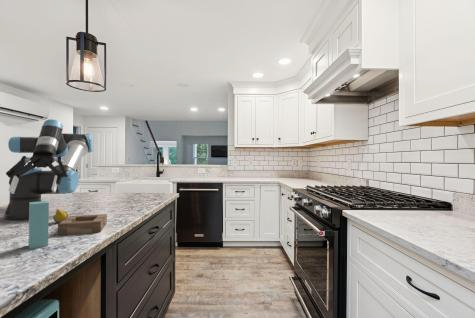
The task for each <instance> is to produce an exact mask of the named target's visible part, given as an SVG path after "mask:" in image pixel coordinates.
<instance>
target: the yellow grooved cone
mask: <svg viewBox="0 0 475 318" xmlns="http://www.w3.org/2000/svg"><path fill="white" fill-rule="evenodd" d="M68 217H69V214H68V212H67V211H64V210H61V209H59V208H57V209H56V212H55V213H54V215H53V222H55V223H57V224H59V223H61V222H62V221H64V220H65V219H66V218H68Z"/></svg>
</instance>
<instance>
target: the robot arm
mask: <svg viewBox="0 0 475 318" xmlns="http://www.w3.org/2000/svg"><path fill="white" fill-rule="evenodd" d="M63 128H64V125H63V123H62V122H60V121H59V120H56V119H46V120H45V121H44V122H43V124H42V126H41V129H40V132H39V136H12V137H10V138H9V140H8V143H7V144H8V145H7V146H8V149H9V151H10V152H11V153H17V154H18V153H19V154H32V156H31V157H30V156H29V157H27V156H26V155H22V156H21V159H20V160H18V162H16V163H15V164H14V165H13V166H12V167H11V168H9V170H8V171H6V173H5V175H6V176H7V177H8V178H9V181H8V185H9V188H8V191H9V201H8V205H7V206H6V209H5V211H4V213H3V219H4V220H6V221H7V220H8V221H12V220H13V221H17V220H29V202H40V201H42V195H60V194H61V195H66V194H73V193H74V192H75V191H76V190H77V188H78V186H79V182H80V175H79V173H78V171H77V169H78V166H79V165H80V163H81V160H82V158H83V157H85V155H87V154H88V153H92V152H93V139H92V135H91V134H86V133H83V134H82V133H62V132H63ZM54 162H56V163H57V165H54V164H53V163H54ZM47 167H48V168H49V169H50V170H43V169H42V168H47Z"/></svg>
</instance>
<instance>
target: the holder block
mask: <svg viewBox="0 0 475 318" xmlns="http://www.w3.org/2000/svg"><path fill="white" fill-rule="evenodd" d="M107 215H108V214H107V213H105V214H104V213H103V214H85V215H70V216H69V215H68V218H66V219H65V220H64V221H62V222H61V223H57V236H65V235H66V236H67V235H80V234H91V233H101V232H102V230H103V229H104V228H105V226H106V225H107V224H108V223H107V221H108V220H107V218H108V216H107Z"/></svg>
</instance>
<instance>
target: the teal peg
mask: <svg viewBox="0 0 475 318" xmlns="http://www.w3.org/2000/svg"><path fill="white" fill-rule="evenodd" d="M49 208H50V203H49V201H48V200H41V201H40V202H29V219H28V248H29V250H34V249H39V248H45V247H48V246H49V212H50V211H49Z"/></svg>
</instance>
